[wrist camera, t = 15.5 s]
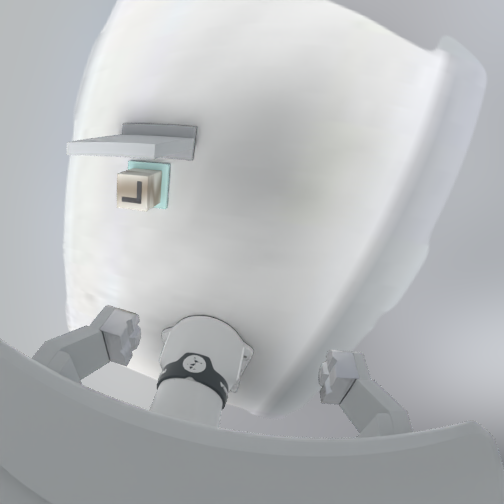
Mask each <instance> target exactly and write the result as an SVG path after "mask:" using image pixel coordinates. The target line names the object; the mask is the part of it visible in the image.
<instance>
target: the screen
mask: <svg viewBox="0 0 504 504" xmlns="http://www.w3.org/2000/svg"><path fill="white" fill-rule="evenodd" d="M196 130H197V127H194V126H181V125H164V124H128V123H125V124H123V127H122V135H113V136H105V137H97V138H91V139H84V140H78V141H72V142H67V155H93V156H116V157H133V158H147V159H156V158H160V157H161V158H171V159H181V160H190V161H191V160H193V154H194V145H195V137H196Z"/></svg>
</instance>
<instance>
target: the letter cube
mask: <svg viewBox="0 0 504 504" xmlns="http://www.w3.org/2000/svg"><path fill="white" fill-rule="evenodd" d="M161 181H162V171H161V170H151V169H139V168H132V169H129V170H126V171H124V172H121V173H118V174H117V208H124V209H131V210H138V211H145V212H147V211H149V210H150V209H151V208H153V207H154V206H156V205H157V204H159V203H160V199H161Z"/></svg>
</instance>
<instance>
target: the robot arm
mask: <svg viewBox="0 0 504 504" xmlns="http://www.w3.org/2000/svg"><path fill="white" fill-rule="evenodd" d="M138 323H139V315H138V314H136V313H133V312H129V311H126V310H123V309H120V308H116V307H113V306H110V305H107V306H105V307H104V308H103V310H102V311H101V312H100V313H99V315H98V316H97V317H96V318H95V319H94V321H93V322H92V323H91V324H90V326H84V327H81V328H79V329H76V330H74V331H71V332H69V333H66V334H64V335H61V336H58V337H56V338H53V339H51V340H48V341H46V342H45V343H44V344H43V345H42V346H41V347H40V349H39V350H38V351H37V352H36V354H35V355H34V356H33V357H32V358H30V357H28V356H27V355H25V354H23V353H22V352H20V351H18V350H17V349H15V348H14V347H12V346H10V345H9V344H7V343H6V342H4V341H3V340H2V339H0V504H504V468H503V464H502V460H501V456H500V453H499V449H498V446H497V443H496V441H495V439H494V437H493V435H491V433H490V432H488V431H487V430H486V429H485V428H484V427H482V426H481V425H480V424H479V423H477V422H476V421H473V420H470V421H465V422H462V423H457V424H454V425H449V426H444V427H440V428H435V429H429V430H424V431H417V432H413V429H412V425H411V422H410V419H409V415H408V412H407V410H406V409H404V408H403V407H402V406H401V405H400V404H399V403H398V402H397V401H396V400H395V399H394V398H393V397H392V396H391V395H390V394H389V393H388V392H386V391H385V390H384V389H383V388H382V387H381V386H380V385H379V384H378V383H377V382H376V381H375V380H371V378H370V374H369V371H368V368H367V364H366V361H365V358H364V354H363V353H362V352H352V351H351V352H350V351H338V350H329V351H328V352H327V354H326V361H325V362H323V363H322V365H321V367H320V371H319V384H320V385H321V386H322V388H321V390H320V398H321V403H324V404H325V403H326V404H339V406H340V407H341V408H342V410H343V411H344V413H345V414H346V415H347V417H348V418H349V420H350V421H351V422H352V424H353V425H354V426H355V428H356V429H357V430H358V432H359V433H360V434H359V435H358V436H357V437H356V438H305V437H288V436H287V437H286V436H275V435H265V434H257V433H249V432H242V431H236V430H230V429H224V428H219V422H220V416H221V411H222V409H223V408H224V407H225V404H226V402H227V398H228V392H229V391H231V392H237V389H238V385H239V381H240V379H239V378H240V376H241V375H242V373H243V371H244V370H245V368H246V366H247V364H248V363H249V361H250V359H251V357H252V355H253V352H254V350H253V349H252V348H251V347H250V346H249V345H247V344H246V343H244V342H243V341H242V339H241V338H240V336H239V335H238V334H237V332H236V331H235V330H234V329H233V328H232V327H230V326H229V325H228V324H226V323H224V322H222V321H220V320H218V319H215V318H212V317H207V316H191V317H187V318H185V319H183V320H181V321H180V322H178V323H177V324H176V325H175V326H174V327H172V328H168V329H165V330H163V332H162V339H163V342H164V348H163V350H162V353H161V356H160V358H159V363H160V364H161V367H162V369H163V370H162V372H161V374H160V376H159V379H158V383H157V392H156V395H155V397H154V399H153V402H152V405H151V407H150V410H147V409H144V408H141V407H138V406H135V405H132V404H129V403H126V402H124V401H121V400H118V399H115V398H113V397H110V396H108V395H105V394H103V393H100V392H98V391H95V390H93V389H91V388H89V387H86V386H84V385H82V382H81V379H83V378H85V377H86V376H88V375H89V374H91V373H93V372H94V371H96V370H98V369H99V368H101V367H102V366H104V365H106V364H107V363H109V362H110V361H112V362H115V363H118V364H121V365H124V366H127V365H128V363H129V361H130V359H131V358H132V356H133V355H132V351H133V350H135V349H137V347H138V345H139V342H140V338H141V329H140V328H139V326H138V325H137V324H138Z"/></svg>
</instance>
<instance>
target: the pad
mask: <svg viewBox="0 0 504 504" xmlns="http://www.w3.org/2000/svg"><path fill="white" fill-rule="evenodd" d="M132 168H139V169H151V170H161V171H162V181H161V199H160V203H159V204H157V205H156V206H154V208H161V209H166V208H167V198H168V183H169V171H170V164H164V163H153V162H141V161H128V170H129V169H132Z"/></svg>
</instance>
